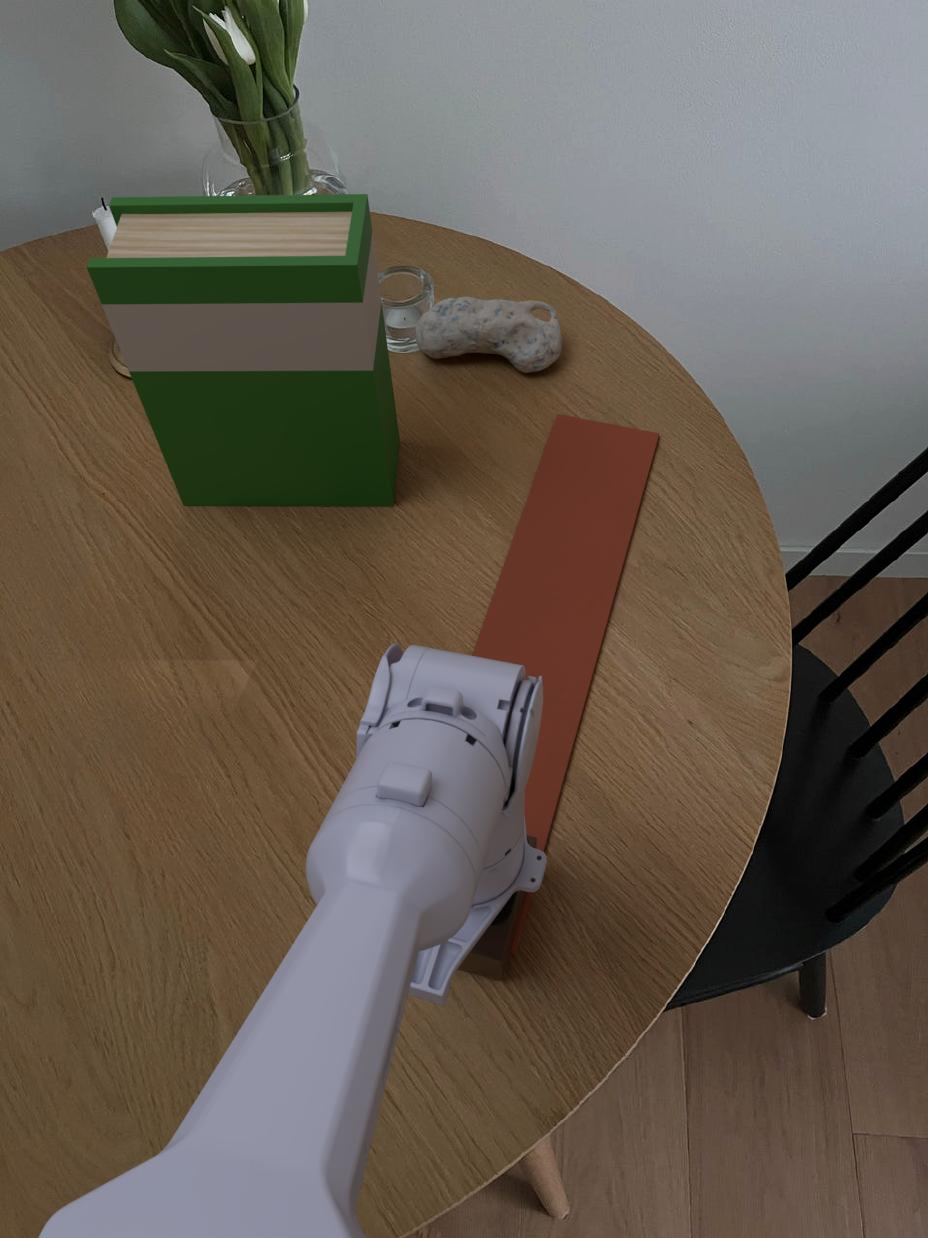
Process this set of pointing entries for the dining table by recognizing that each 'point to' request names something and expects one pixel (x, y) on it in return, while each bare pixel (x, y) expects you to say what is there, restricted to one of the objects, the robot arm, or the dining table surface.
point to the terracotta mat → (565, 587)
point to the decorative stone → (491, 331)
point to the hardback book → (256, 345)
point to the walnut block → (496, 941)
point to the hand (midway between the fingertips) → (473, 909)
